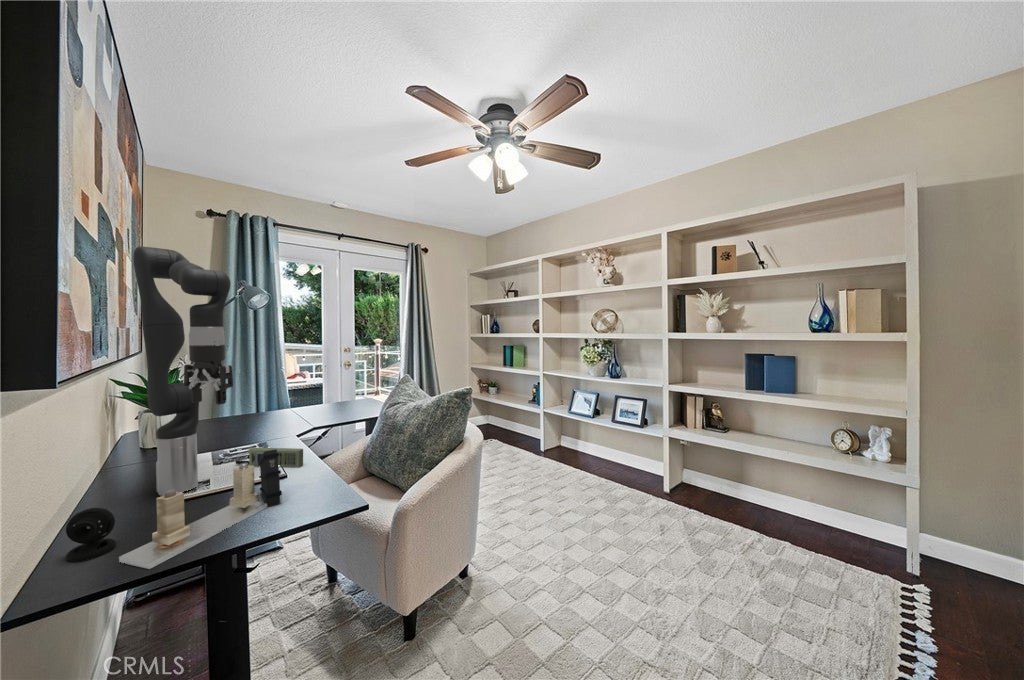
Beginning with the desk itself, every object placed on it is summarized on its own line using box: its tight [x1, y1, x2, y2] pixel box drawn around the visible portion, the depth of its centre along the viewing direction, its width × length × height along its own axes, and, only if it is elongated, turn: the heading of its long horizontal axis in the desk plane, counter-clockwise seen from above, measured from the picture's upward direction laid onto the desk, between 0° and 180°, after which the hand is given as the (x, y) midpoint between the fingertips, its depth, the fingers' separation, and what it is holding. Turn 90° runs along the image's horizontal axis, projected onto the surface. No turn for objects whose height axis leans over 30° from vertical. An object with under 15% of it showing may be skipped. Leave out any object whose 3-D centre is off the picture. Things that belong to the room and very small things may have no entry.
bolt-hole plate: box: [118, 463, 268, 570], centre depth 93 cm, size 9×28×13 cm, turn 165°
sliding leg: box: [151, 490, 190, 545], centre depth 86 cm, size 5×4×12 cm
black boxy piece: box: [258, 449, 283, 508], centre depth 111 cm, size 4×13×15 cm, turn 42°
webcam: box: [65, 507, 117, 563], centre depth 84 cm, size 8×8×10 cm
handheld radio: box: [235, 447, 304, 469], centre depth 138 cm, size 7×3×25 cm
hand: (208, 403), depth 102 cm, fingers open, 8 cm apart
